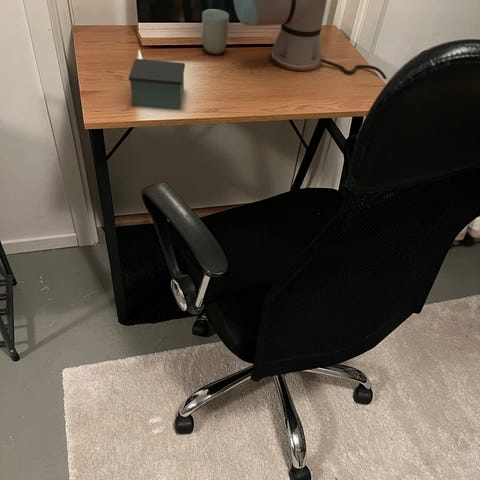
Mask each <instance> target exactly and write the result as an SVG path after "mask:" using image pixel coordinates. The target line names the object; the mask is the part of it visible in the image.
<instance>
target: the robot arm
mask: <svg viewBox="0 0 480 480" xmlns="http://www.w3.org/2000/svg"><path fill="white" fill-rule="evenodd" d="M232 1H233V6H234V11H235V14H236V17H237V19H238V20H239V22H240V24H242V25H243V26H251V27H252V26H254V27H258V26H272V25H273V26H275V25H281V26H280V31H279V32H278V35H277V37H276V39H275V42H274V44H273V46H272V49H271V52H270V53H271V54H270V60H271V61H272V62H273V63H274V64H275V65H276V66H279V67H281V68H284V69H286V70H290V71H296V72H309V71H313V70H316V69H318V68H319V67H320V66H321V63H323V64H327V65H329V66H331V67H335V68H337V69H340V70H342V71H343V72H344V73H345V74H348V75H349V74H354V73H355V72H356V70H357V69H369V70H373V71H376V72H377V73H379V74H380V75H381V77H382V79H383V80H387V75H386V74H385V73H384V71H382V70H381V69H380V68H379V67H377V66H374V65H370V64H356V65H355V66H354V67H353V69H352V70H350V69H346V68H345V67H344V66H342V65H341V64H338V63H335V62H333V61H330V60H326V59H323V58H322V45H321V31H322V27H323V22H324V16H325V11H326V7H327V3H328V0H232ZM190 4H191V5H190V9H191V12H195V7H196V6H195V5H196V0H191V2H190Z"/></svg>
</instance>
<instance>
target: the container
mask: <svg viewBox="0 0 480 480" xmlns="http://www.w3.org/2000/svg"><path fill="white" fill-rule="evenodd" d="M185 67H186V63H185V62H177V61H166V60H155V59H144V58H134V61H133V63H132V67H131V69H130V72H129V76H128V81H129V82H130V91H131V99H132V100H131V102H132V106H133V107H134V106H135V107H145V108H146V107H149V108H158V109H170V110H182V103H183V98H184V92H185V82H184V81H185V79H184V78H185V76H184V75H185V74H184V73H185Z"/></svg>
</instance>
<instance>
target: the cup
mask: <svg viewBox="0 0 480 480" xmlns="http://www.w3.org/2000/svg"><path fill="white" fill-rule="evenodd" d="M229 24H230V14H229V13H228V12H227V11H225V10H222V9H216V8H209V9H205V10H203V11H202V13H201V41H202V42H201V43H202V47H203V49H204V50H205V51H206V53H208V54H211V55H212V54H213V55H218V54H222V53H223V52H224V51H225V50H226V47H227V45H228V44H227V43H228V37H229Z"/></svg>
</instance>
